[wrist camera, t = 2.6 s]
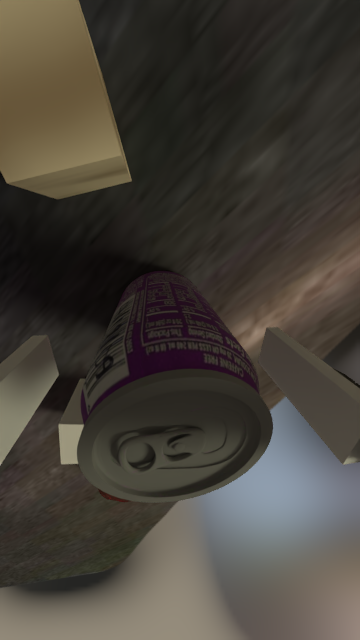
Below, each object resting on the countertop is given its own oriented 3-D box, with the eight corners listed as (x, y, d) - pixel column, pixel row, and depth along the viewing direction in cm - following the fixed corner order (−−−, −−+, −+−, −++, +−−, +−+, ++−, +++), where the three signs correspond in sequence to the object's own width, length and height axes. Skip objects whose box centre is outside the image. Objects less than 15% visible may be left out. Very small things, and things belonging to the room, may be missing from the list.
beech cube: (11, 93, 10) (-95, -10, 6) (101, 72, 10) (64, -45, 6) (58, 199, 13) (6, 183, 8) (131, 181, 13) (121, 155, 8)
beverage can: (127, 348, 18) (91, 524, 7) (112, 271, 15) (13, 382, 4) (200, 340, 19) (267, 489, 8) (201, 266, 16) (313, 347, 5)
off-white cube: (80, 377, 19) (58, 424, 14) (132, 381, 20) (126, 425, 15) (80, 413, 21) (61, 464, 16) (127, 414, 22) (121, 462, 17)
